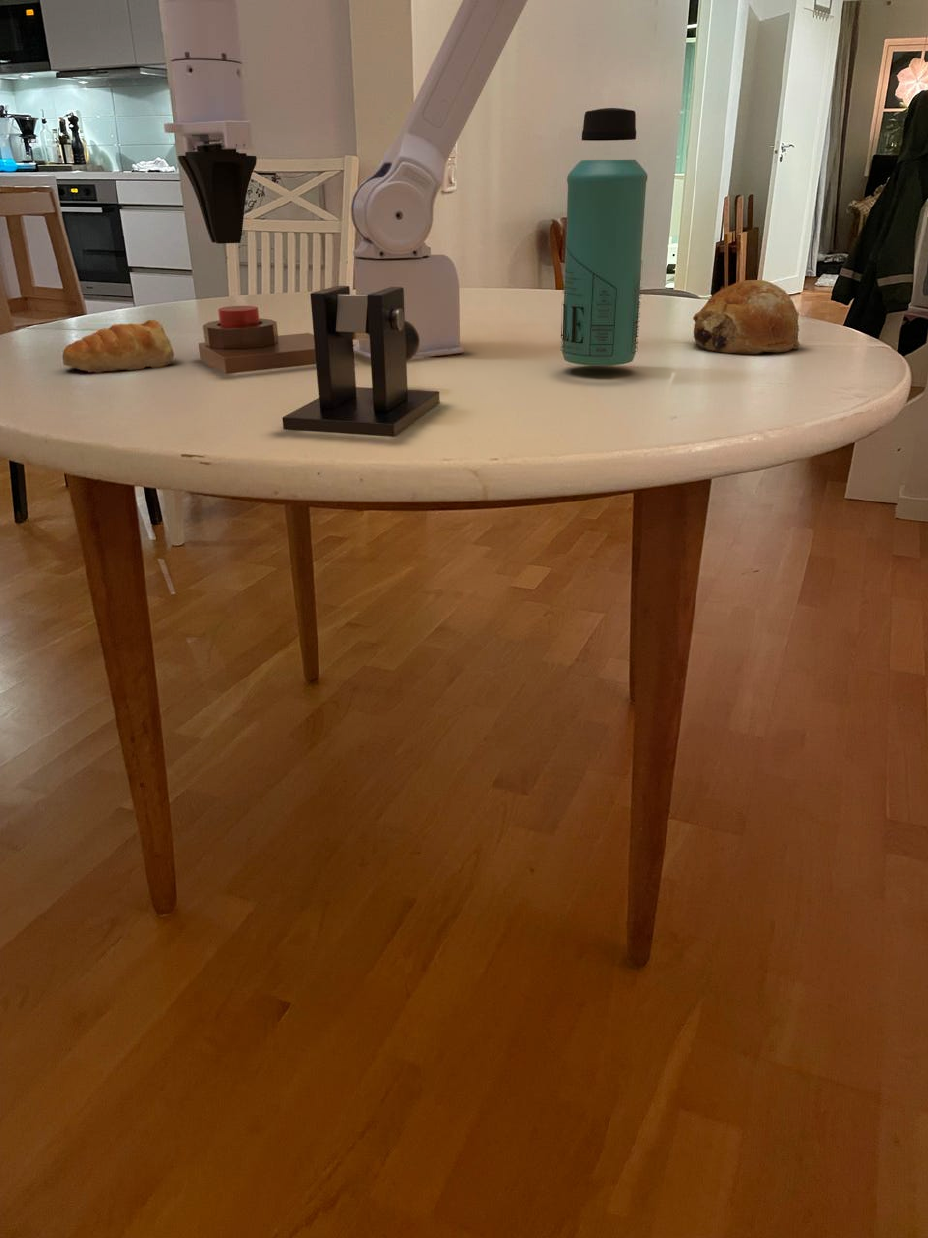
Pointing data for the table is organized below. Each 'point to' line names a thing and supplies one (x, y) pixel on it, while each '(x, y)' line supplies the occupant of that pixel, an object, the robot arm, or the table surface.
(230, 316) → the button
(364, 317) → the lever
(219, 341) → the button block
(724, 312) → the bread roll
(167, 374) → the table surface
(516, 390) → the table surface
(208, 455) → the table surface
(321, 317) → the bracket
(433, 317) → the robot arm
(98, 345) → the pastry
